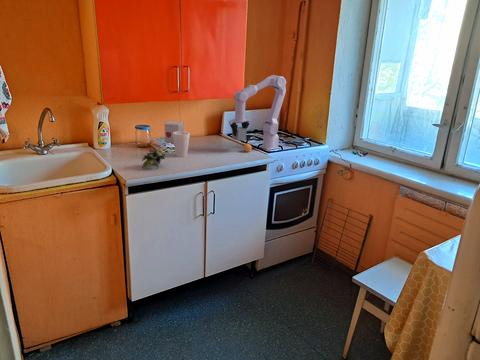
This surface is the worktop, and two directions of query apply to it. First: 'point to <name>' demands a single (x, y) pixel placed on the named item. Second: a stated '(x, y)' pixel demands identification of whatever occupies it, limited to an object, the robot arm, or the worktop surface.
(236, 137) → the grey cube
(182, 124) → the supplement box
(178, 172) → the worktop surface
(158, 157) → the green leafy clump
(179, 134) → the foam cup
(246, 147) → the ball
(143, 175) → the worktop surface
